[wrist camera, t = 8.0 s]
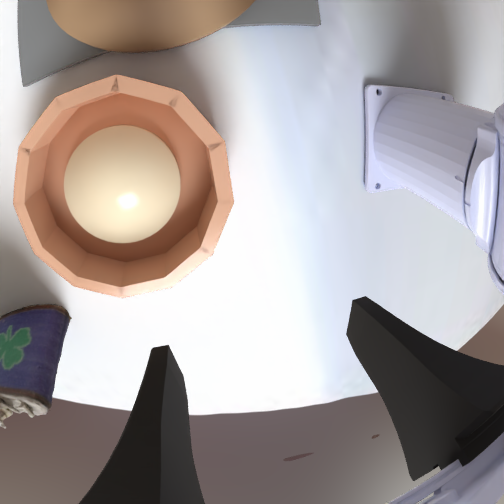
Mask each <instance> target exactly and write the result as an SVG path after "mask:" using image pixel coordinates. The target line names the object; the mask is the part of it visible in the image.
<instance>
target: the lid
mask: <svg viewBox="0 0 504 504" xmlns="http://www.w3.org/2000/svg"><path fill="white" fill-rule="evenodd" d="M254 1H255V0H46V2H47V5H48V9H49V11H50V13H51V15H52V17H53V19H54V21H55V22H56V23H57V24H58V26H59V27H60V28H61V29H62V30H64V31H65V32H66V33H67V34H68V35H70V36H72V37H73V38H75V39H77V40H79V41H81V42H83V43H85V44H88V45H90V46H93V47H95V48H99V49H103V50H107V51H114V52H122V53H142V52H154V51H159V50H166V49H170V48H174V47H178V46H182V45H185V44H188V43H191V42H194V41H197V40H199V39H202V38H204V37H206V36H208V35H211V34H213V33H214V32H216V31H218V30H220V29H222V28H223V27H225V26H227V25H228V24H229V23H231V22H232V21H234V20H235V19H237V18H238V17H239V16H240V15H241V14H242V13H244V12H245V11H246V10H247V9H248V8H249V7H250V6H251V5H252V4H253V2H254Z"/></svg>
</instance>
